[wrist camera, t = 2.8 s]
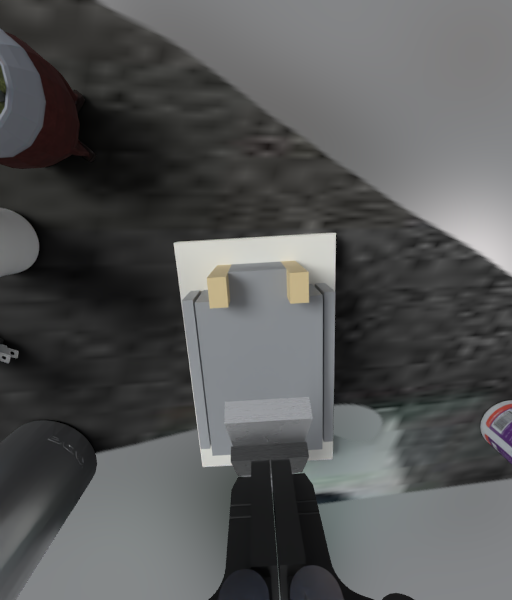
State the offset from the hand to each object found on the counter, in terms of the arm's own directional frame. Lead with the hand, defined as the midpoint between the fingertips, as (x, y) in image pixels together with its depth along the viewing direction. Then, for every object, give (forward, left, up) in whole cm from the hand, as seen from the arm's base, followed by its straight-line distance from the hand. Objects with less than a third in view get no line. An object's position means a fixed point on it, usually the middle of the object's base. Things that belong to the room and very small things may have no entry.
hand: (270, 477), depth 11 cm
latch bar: (-2, -3, -6) cm, 7 cm away
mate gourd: (-1, +22, -16) cm, 28 cm away
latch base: (-1, -2, -16) cm, 16 cm away
